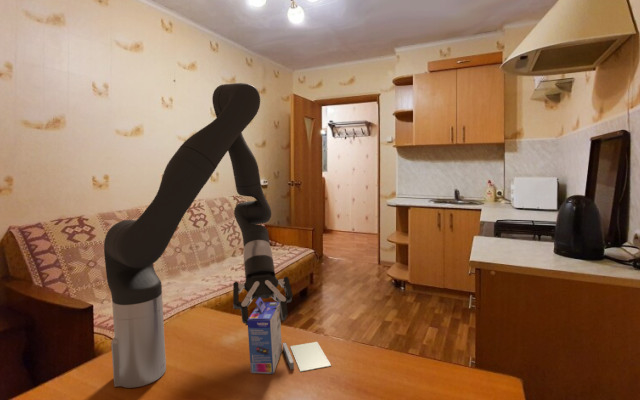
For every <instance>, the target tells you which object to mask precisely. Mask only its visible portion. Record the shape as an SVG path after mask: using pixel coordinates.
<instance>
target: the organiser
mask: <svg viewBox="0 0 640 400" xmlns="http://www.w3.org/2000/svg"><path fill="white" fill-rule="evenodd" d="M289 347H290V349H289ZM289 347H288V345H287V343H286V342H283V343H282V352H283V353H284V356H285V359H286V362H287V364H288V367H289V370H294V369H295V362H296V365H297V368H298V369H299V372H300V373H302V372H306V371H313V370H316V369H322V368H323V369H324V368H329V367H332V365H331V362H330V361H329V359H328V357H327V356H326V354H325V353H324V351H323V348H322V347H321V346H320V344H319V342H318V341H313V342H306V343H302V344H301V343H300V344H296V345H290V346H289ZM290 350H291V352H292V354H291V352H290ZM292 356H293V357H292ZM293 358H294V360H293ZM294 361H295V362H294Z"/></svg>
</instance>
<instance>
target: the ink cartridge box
mask: <svg viewBox="0 0 640 400" xmlns="http://www.w3.org/2000/svg"><path fill="white" fill-rule="evenodd" d="M255 305H256V306H255V308H253V311H252V313H251V314H250V315H249V316H248V320H247V321H248V325H247V334H248V335H247V336H248V349H249V362H250V364H249V365H250V373H251V374H261V375H262V374H266V375H273V374H275V371H276V367H278V362H279V360H280V357H281V354H282V352H283V343H282V341H283V340H282V327H281V326H282V325H281V324H282V323H281V322H282V319H281V312H280V303H279V302H277V301H263V298H262V299H261V298H260V297H259V298H258V300H256V301H255Z"/></svg>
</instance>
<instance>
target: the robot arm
mask: <svg viewBox="0 0 640 400" xmlns="http://www.w3.org/2000/svg"><path fill="white" fill-rule="evenodd" d="M211 98H212V107H213V110H214V114H215V117H216V118H215V119H214V120H212V122H210V123H208V124H207V125H206V126H204V127H202V128H200V129H199V130H198V131H197V132H195V133H193V134H192V135H191V136H189V137H187V139H186V140H185V141H184V142H183V143H181V145H180V146H179V147H178V149H177V150H176V152H175V153H174V154H173V156H172V157H171V158H170V159H169V161H168V162H167V164H166V166H165V169H164V171H163V174H162V177H161V181H160V184H159V188H158V191H157V192H156V194H155V196H154V198H153V200H152V201H151V203H149V205H148V207H147V208H146V209H145V210H144V211H143V213H141V215H140V216H139V217H138V218H137V219H136V220H135V219H126V220H121V221H119V222H117V223H114V225H112V226H111V227H110V228H109V230H108V231H107V232H106V235H105V237H104V243H103V254H104V263H105V265H104V266H105V273H106V274H105V275H106V281H107V285H108V286H107V287H108V288H109V290H110V293H111V304H112V319H113V331H114V332H113V333H114V337H113V339H112V340H111V345H110V346H111V357H112V372H113V375H112V376H113V386H114V388H115V387H121V388H122V387H123V388H126V389H127V388H129V389H131V388H133V389H134V388H138V387H144V386H147V385H149V384H151V383H154V382H156V381H158V380H159V379H160V378H161V377H162V376H164V374H165V373H166V370H167V365H166V364H167V359H166V347H165V346H166V341H165V327H164V326H165V325H164V306H163V288H162V286H163V285H162V281H161V279H160V278H159V276H158V275H157V273H156V271H155V268H154V263H156V262H158V260H159V259H160V258H161V257H162V255H163V254H164V253H165V251H166V249H167V247H168V245H169V244H170V242H171V239H172V238H173V236H174V234H175V232H176V230H177V228H178V227H179V225H180V223H181V221H182V219H183V218H184V216H185V215H186V213H187V212H188V210H189V208H190V207H191V206H192V204H193V203H194V201H195V200H196V198H197V197H198V195H199V194H200V193H201V191H202V190H203V188H204V187H205V186H206V184H207V182H208V181H209V179H210V178H211V176H212V175H213V173H215V170H216V169H217V168H218V166H219V164H220V163H221V161H222V159H223V158H224V157H225V155H226V154H227V153H228V156H229V158H230V163H231V167H232V172H233V178H234V183H235V190H236V192H237V194H238V195H240V196H242V197H250V198H254V200H250V201H243V202H239V203H238V204H236V205H235V207H234V211H233V214H234V218H235V221H236V222H237V225H238V227H239V229H240V231H241V234H242V235H241V236H242V242H243V266H244V278H245V281H244V283H242V282H241V283H239V282H238V281H234V282H233V284H232V285H233V288H232V289H233V290H232V294H233V297H232V298H233V300H232V301H233V302H232V307H233V309H234V310H240V312H241V321H242V324H245V327H246V326H247V327H248V321H247V320H248V318H249V309H248V307H249V305H250V304H251V303H252V302H253V300H254V299H255V300H256V301H257V300H258V298H259V297H260V298H261V299H262V300H263V299H270V298H271V299H273V300H274V302H279V303H280V320H281V321H285V320H286V319H287V317H288V306H287V304H288V303H291V302H292V301H293V300H292V299H293V297H294V296H293V291H292V286H291V282H290V279H289V277H288V276H284V277H283V278H280V279H278V278H277V277H276V271H275V264H274V257H273V252H272V248H271V245H270V237H269V232H268V231H269V230H268V228H267V227H266V226H264V225H262V224H266V223H268V222H270V220H271V217H272V209H271V207H270V204H269V201H268V199H267V198H266V196H265V194H264V192H263V187H262V183H261V182H262V181H261V176H260V169H259V165H258V162H257V159H256V157H255V155H254V154H253V152H252V150H251V148H250V147H249V145H248V144H247V142H246V140H245V137H244V136H243V133H242V132H244V130H245V129H246V128H247V127H248V126H249V124H250V123H252V121H253V120H254V119H255V117H256V115H257V114H258V112H259V110H260V107H261V96H260V93H259V90H258V89H257V88H256V86H254V85H252V84H250V83H245V82H238V83H236V82H235V83H234V82H233V83H225V84H219V86H217V87H216V88H215V89H214V91H213V93H212V97H211ZM278 285H279V286H280V287H281V288H283V289H284V293H285V294H284V295H285V296H284V295H283V294H282V293H281V291H280V290H279V289H278V288H277V287H278ZM243 290H245V291H246V292H247V294H246V295H245V297H244V299H243V300H242V301H239V297H240V296H239V294H241V293H242V291H243Z"/></svg>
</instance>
